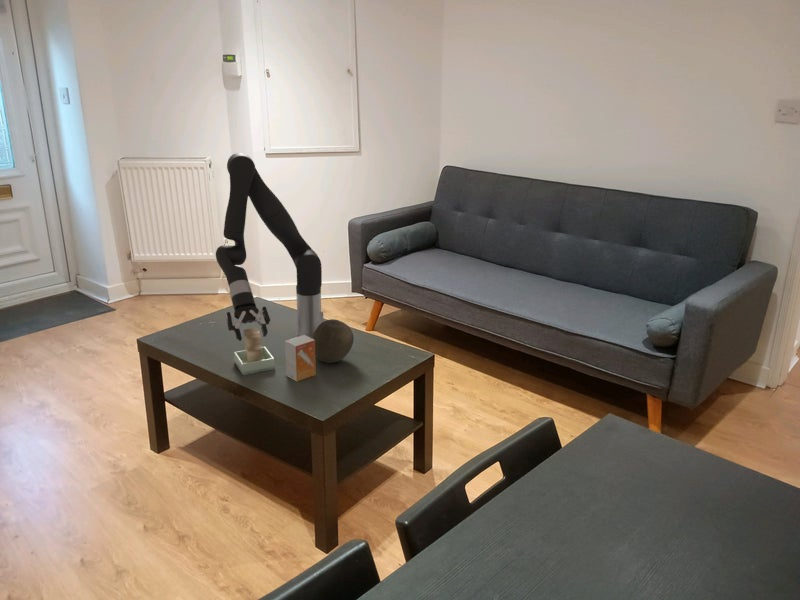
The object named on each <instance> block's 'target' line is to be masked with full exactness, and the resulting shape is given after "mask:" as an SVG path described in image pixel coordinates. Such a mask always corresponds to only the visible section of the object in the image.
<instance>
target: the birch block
mask: <svg viewBox="0 0 800 600" xmlns="http://www.w3.org/2000/svg"><path fill="white" fill-rule="evenodd" d="M261 333H262V332H261V331H260V330H259V329H258V327H252V328H247V329H243V336H244V350H245V354H246V362H247V363H250V362H255V361H260V360H262V349H261V347H262V336H261Z"/></svg>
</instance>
